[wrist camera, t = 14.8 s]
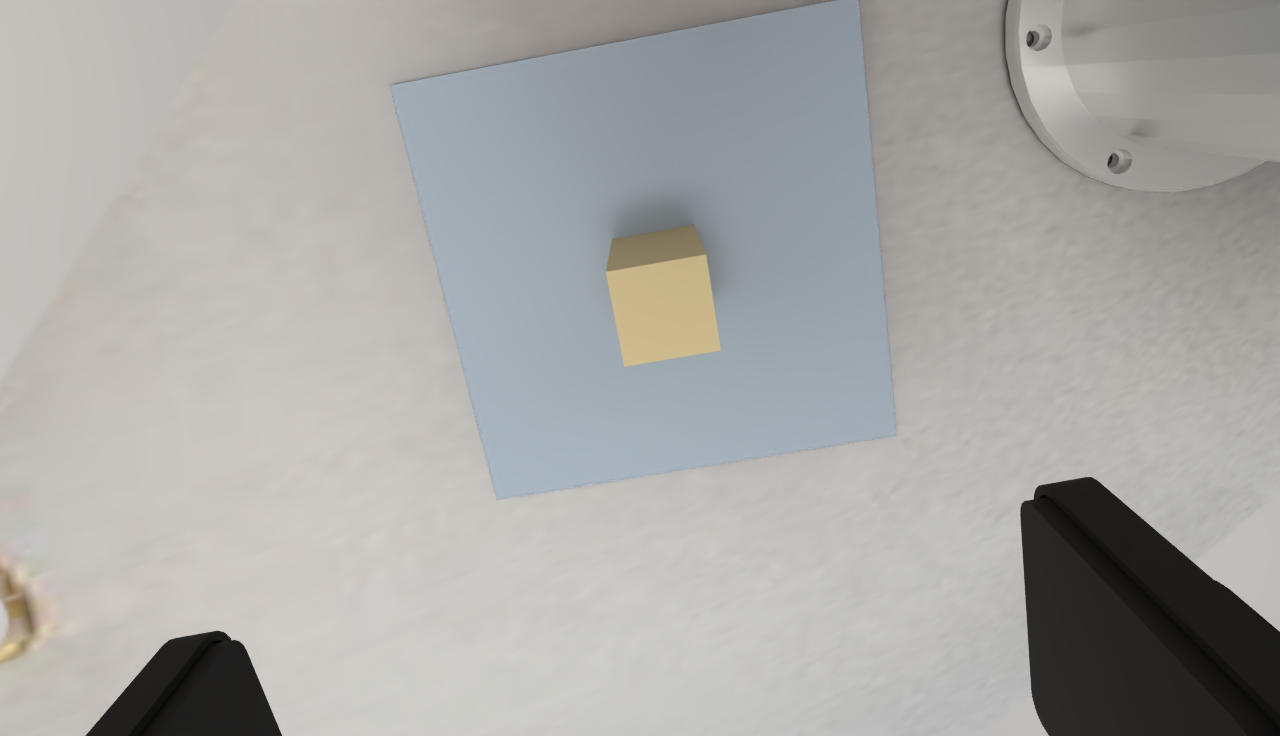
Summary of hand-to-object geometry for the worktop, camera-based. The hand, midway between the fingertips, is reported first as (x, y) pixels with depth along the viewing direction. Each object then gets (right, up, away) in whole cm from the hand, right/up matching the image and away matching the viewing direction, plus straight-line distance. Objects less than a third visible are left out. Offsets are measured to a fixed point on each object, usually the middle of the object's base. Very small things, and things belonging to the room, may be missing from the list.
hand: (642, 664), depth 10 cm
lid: (+1, +8, +23) cm, 25 cm away
